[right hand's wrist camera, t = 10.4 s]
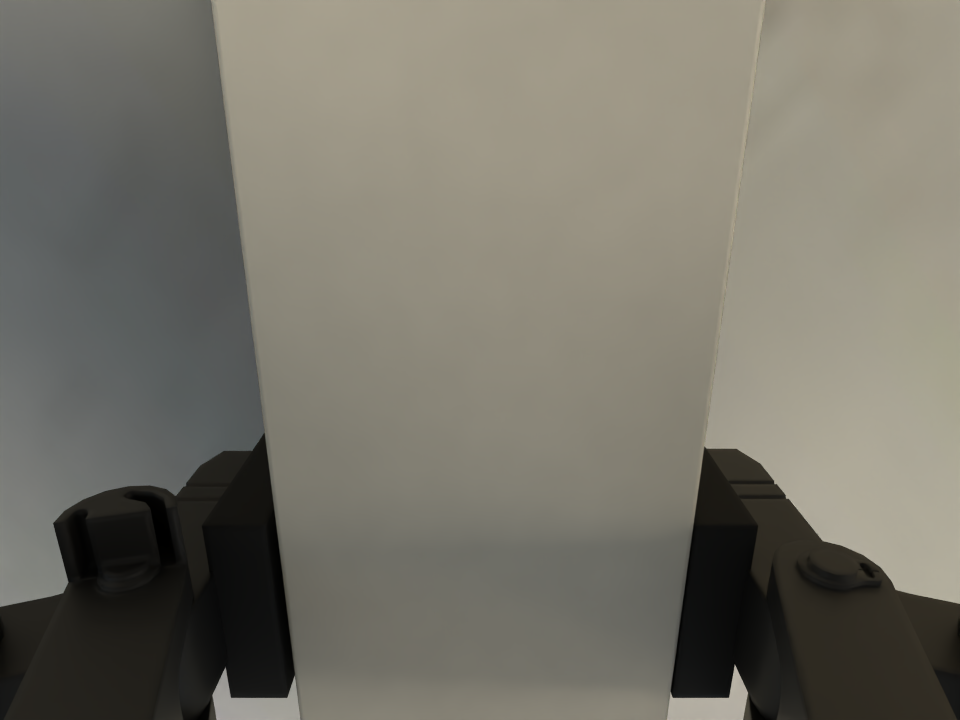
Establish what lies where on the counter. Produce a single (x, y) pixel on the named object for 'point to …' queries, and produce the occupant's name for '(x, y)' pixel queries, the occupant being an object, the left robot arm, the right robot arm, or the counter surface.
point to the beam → (486, 335)
